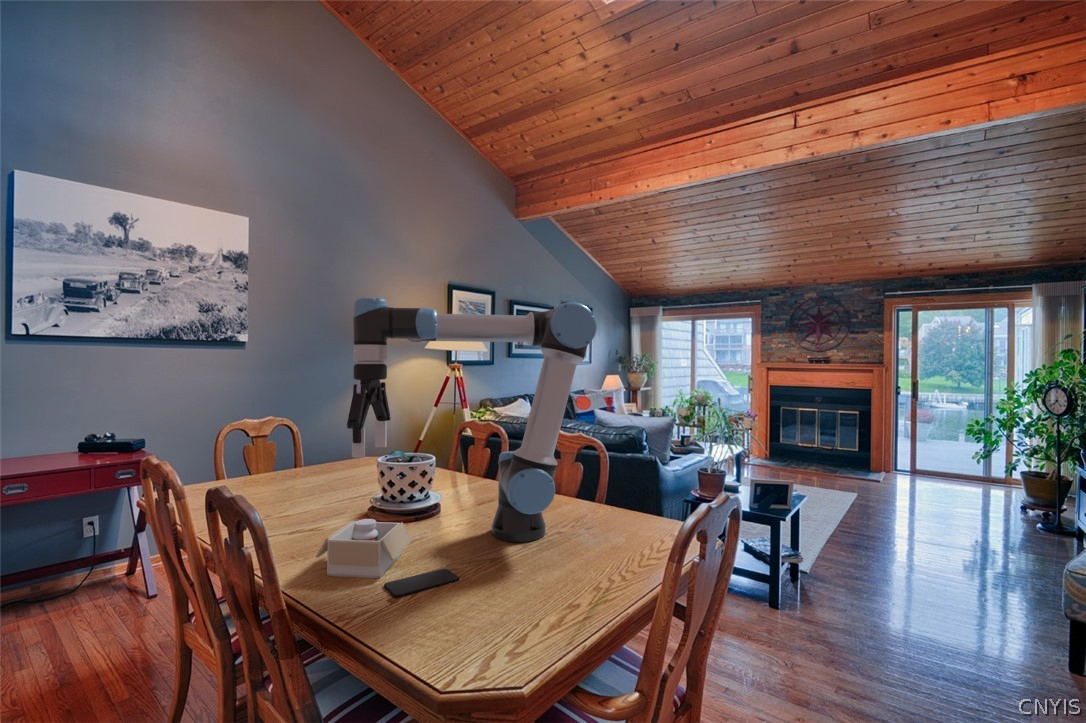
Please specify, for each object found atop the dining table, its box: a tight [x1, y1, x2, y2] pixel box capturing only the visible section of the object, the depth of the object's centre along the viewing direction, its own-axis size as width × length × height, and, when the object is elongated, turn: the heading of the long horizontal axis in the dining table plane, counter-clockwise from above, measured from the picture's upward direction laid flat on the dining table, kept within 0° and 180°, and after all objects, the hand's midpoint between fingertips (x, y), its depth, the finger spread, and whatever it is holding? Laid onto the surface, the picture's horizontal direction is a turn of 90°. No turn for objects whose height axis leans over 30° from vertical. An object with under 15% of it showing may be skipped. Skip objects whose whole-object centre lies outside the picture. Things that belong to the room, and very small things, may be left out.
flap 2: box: [381, 521, 413, 561], centre depth 114 cm, size 1×12×5 cm, turn 176°
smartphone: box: [383, 568, 460, 599], centre depth 106 cm, size 7×1×15 cm
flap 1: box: [315, 520, 354, 558], centre depth 115 cm, size 1×12×5 cm, turn 176°
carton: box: [326, 520, 402, 579], centre depth 115 cm, size 12×14×8 cm
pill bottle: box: [352, 518, 378, 541], centre depth 114 cm, size 6×6×10 cm
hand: (370, 452), depth 117 cm, fingers open, 13 cm apart
